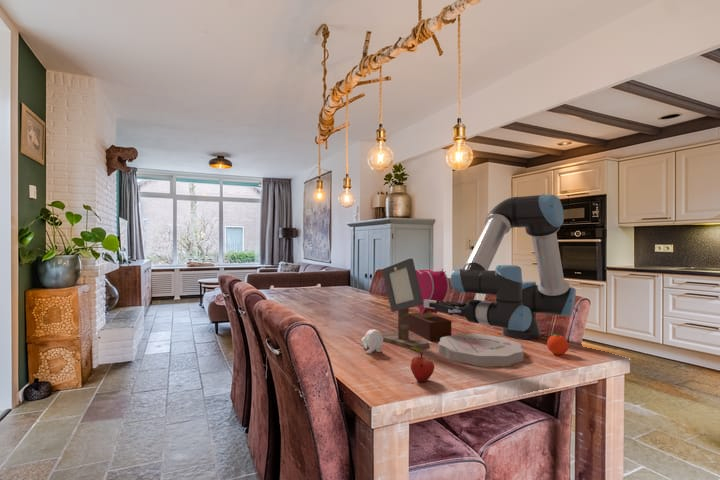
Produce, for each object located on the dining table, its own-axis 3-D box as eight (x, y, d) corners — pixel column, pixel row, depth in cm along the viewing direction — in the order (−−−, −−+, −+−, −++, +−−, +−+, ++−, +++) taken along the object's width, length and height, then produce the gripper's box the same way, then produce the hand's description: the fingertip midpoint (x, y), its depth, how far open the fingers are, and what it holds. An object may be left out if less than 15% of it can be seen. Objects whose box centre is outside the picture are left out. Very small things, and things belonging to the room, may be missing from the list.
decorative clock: (455, 341, 156) (455, 268, 156) (433, 343, 153) (432, 268, 153) (427, 327, 180) (427, 264, 180) (407, 329, 177) (407, 265, 177)
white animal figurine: (368, 331, 136) (356, 327, 147) (369, 355, 135) (356, 349, 146) (384, 329, 139) (371, 326, 150) (385, 353, 138) (371, 348, 149)
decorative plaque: (431, 333, 155) (505, 333, 154) (431, 342, 155) (505, 342, 154) (447, 355, 125) (538, 356, 124) (447, 366, 125) (539, 367, 124)
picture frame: (423, 304, 143) (412, 258, 147) (419, 305, 141) (408, 258, 146) (395, 311, 155) (385, 269, 159) (390, 312, 153) (381, 269, 158)
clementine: (540, 351, 141) (540, 332, 141) (556, 350, 142) (556, 331, 142) (557, 357, 133) (556, 337, 133) (573, 356, 135) (573, 336, 135)
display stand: (429, 346, 147) (429, 265, 148) (415, 350, 142) (415, 266, 142) (389, 335, 164) (389, 263, 165) (376, 338, 159) (376, 264, 159)
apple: (426, 375, 116) (426, 342, 116) (438, 383, 109) (438, 348, 110) (404, 378, 113) (404, 345, 113) (415, 386, 107) (415, 351, 107)
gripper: (469, 326, 119) (413, 315, 137) (491, 320, 127) (436, 311, 145) (469, 302, 119) (413, 294, 137) (491, 298, 127) (436, 291, 145)
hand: (425, 303), depth 141 cm, fingers closed
